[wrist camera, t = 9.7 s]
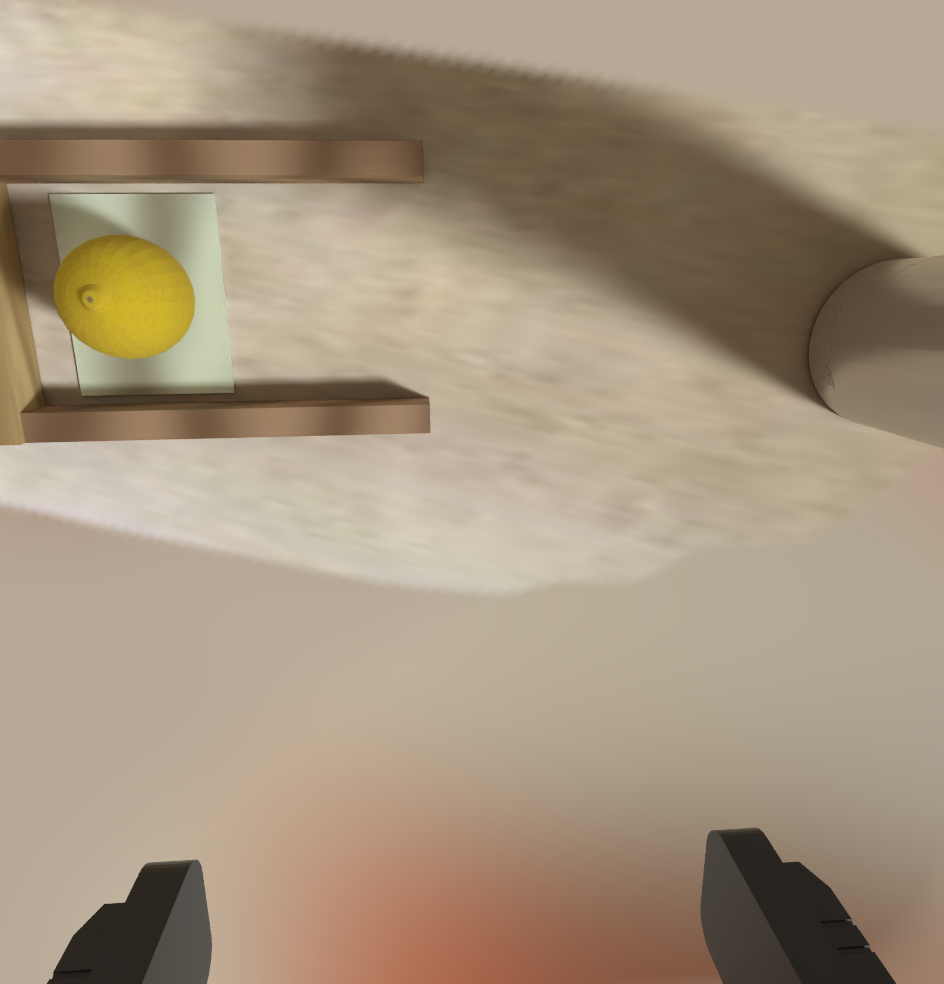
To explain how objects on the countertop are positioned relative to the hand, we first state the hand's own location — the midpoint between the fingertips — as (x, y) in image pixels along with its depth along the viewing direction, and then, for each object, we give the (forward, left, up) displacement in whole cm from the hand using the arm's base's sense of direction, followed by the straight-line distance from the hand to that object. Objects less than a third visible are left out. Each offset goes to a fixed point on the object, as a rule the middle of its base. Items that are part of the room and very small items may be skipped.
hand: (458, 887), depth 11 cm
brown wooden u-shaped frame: (+11, -9, -30) cm, 33 cm away
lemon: (+14, -9, -30) cm, 34 cm away
